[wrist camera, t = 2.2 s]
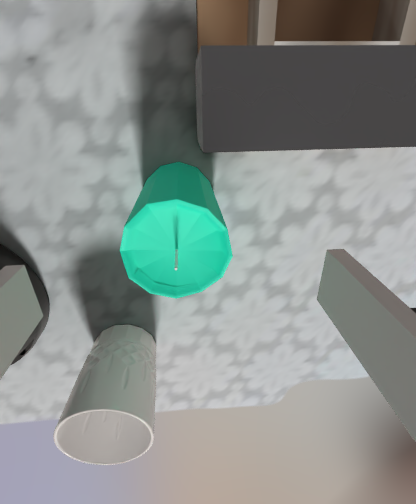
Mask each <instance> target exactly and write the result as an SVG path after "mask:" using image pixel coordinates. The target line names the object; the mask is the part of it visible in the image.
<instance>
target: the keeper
mask: <svg viewBox="0 0 416 504" xmlns="http://www.w3.org/2000/svg"><path fill="white" fill-rule="evenodd" d="M195 79H196V111H197V140H198V143H199V145H200V147H201V149H202V151H203V153H208V152H243V151H278V150H313V149H348V148H383V147H416V45H204V46H201V47H200V50H199V53H198V56H197V59H196V63H195Z"/></svg>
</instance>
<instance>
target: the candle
mask: <svg viewBox="0 0 416 504" xmlns="http://www.w3.org/2000/svg"><path fill="white" fill-rule="evenodd" d="M120 253H121V256H122V260H123V263H124V266H125V269H126V272H127V275H128V278H129V279H130V280H132V281H133V282H135V283H136V284H137V285H139V286H140V287H142V288H143V289H144V290H146V291H147V292H149V293H151V294H156V295H161V296H166V297H171V298H180V297H184V296H187V295H191V294H195V293H198V292H202V291H203V290H205V289H206V288H208V287H209V286H211V285H212V284H213V283H215V282H216V281H218V280H219V279H221V278H222V277H223V275H224V273H225V271H226V269H227V267H228V265H229V263H230V261H231V259H232V257H233V256H232V251H231V245H230V240H229V235H228V230H227V227H226V224H225V222H224V219H223V216H222V214H221V211H220V208H219V206H218V203H217V200H216V198H215V195H214V192H213V190H212V187H211V184H210V182H209V180H208V179H207V178H206V177H205V176H204V175H203V174H202V173H201V171H200V170H199V169H198V168H197V167H194V166H191V165H188V164H184V163H181V162H175V163H171V164H167V165H162V166H160V167H159V168H158V169H157V170H156V171H155V172H154V173H153V174H152V175H151V176H150V177H149V178H148V179H147V180H146V183H145V185H144V187H143V189H142V191H141V193H140V195H139V197H138V199H137V201H136V203H135V206H134V208H133V210H132V212H131V214H130V216H129V218H128V220H127V222H126V224H125V226H124V231H123V236H122V242H121V247H120Z"/></svg>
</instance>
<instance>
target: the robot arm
mask: <svg viewBox="0 0 416 504" xmlns="http://www.w3.org/2000/svg"><path fill="white" fill-rule="evenodd" d="M317 300H318V302H319V303H320V305H321V306H322V308H323V309H324V310H325V312H326V313H327V315H328V316H329V318H330V319H331V321H332V322H333V323H334V325H335V326H336V328H337V329H338V331H339V332H340V334H341V335H342V337H343V338H344V339H345V341H346V342H347V344H348V345H349V347H350V348H351V350H352V351H353V352H354V354H355V355H356V357H357V358H358V360H359V361H360V363H361V364H362V366H363V367H364V368H365V370H366V371H367V373H368V374H369V376H370V377H371V378H372V380H373V381H374V383H375V384H376V386H377V387H378V389H379V390H380V392H381V393H382V394H383V396H384V397H385V399H386V400H387V402H388V403H389V405H390V406H391V407H392V409H393V410H394V412H395V413H396V415H397V416H398V418H399V419H400V421H401V422H402V423H403V425H404V426H405V428H406V429H407V431H408V432H409V434H410V435H411V437H412V438H413V439H414V441H415V442H416V308H409V307H408V306H407V305H406V304H405V303H404V302H403V301H401V300H400V299H399V298H398V297H397V296H396V295H395V294H394V293H392V292H391V291H390V290H389V289H388V288H387V287H386V286H385V285H383V284H382V283H381V282H380V281H379V280H378V279H377V278H376V277H374V276H373V275H372V274H371V273H370V272H369V271H368V270H367V269H365V268H364V267H363V266H362V265H361V264H360V263H359V262H358V261H356V260H355V259H354V258H353V257H352V256H351V255H350V254H349V253H347V252H346V251H345V250H344V249H333V250H327V252H326V257H325V262H324V267H323V272H322V276H321V281H320V286H319V291H318V296H317ZM48 317H49V302H48V297H47V294H46V292H45V289H44V287H43V285H42V283H41V282H40V280H39V278H38V277H37V275H36V274H35V273H34V272H33V270H32V269H31V268H30V267H29V266H28V265H27V264H26V263H25V262H24V261H23V260H22V259H20V258H19V257H18V256H17V255H16V254H14V253H13V252H12V251H10V250H9V249H7V248H6V247H4V246H2V245H1V244H0V379H1V378H2V376H3V375H4V373H5V372H6V370H7V369H8V368H9V366H10V365H12V364H14V363H15V362H17V361H18V360H20V359H21V358H22V357H23V356H25V355H26V354H27V353H28V352H29V351H30V350H31V348H32V347H33V346H34V345H35V343H36V341H37V340H38V338H39V337H40V335H41V333H42V332H43V330H44V328H45V327H46V324H47V321H48Z"/></svg>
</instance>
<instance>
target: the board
mask: <svg viewBox="0 0 416 504" xmlns="http://www.w3.org/2000/svg"><path fill="white" fill-rule="evenodd" d="M196 8H197V45H198V53H199V50H200V47H201V46H204V45H416V0H196ZM200 149H201V147H200ZM201 150H202V149H201Z"/></svg>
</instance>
